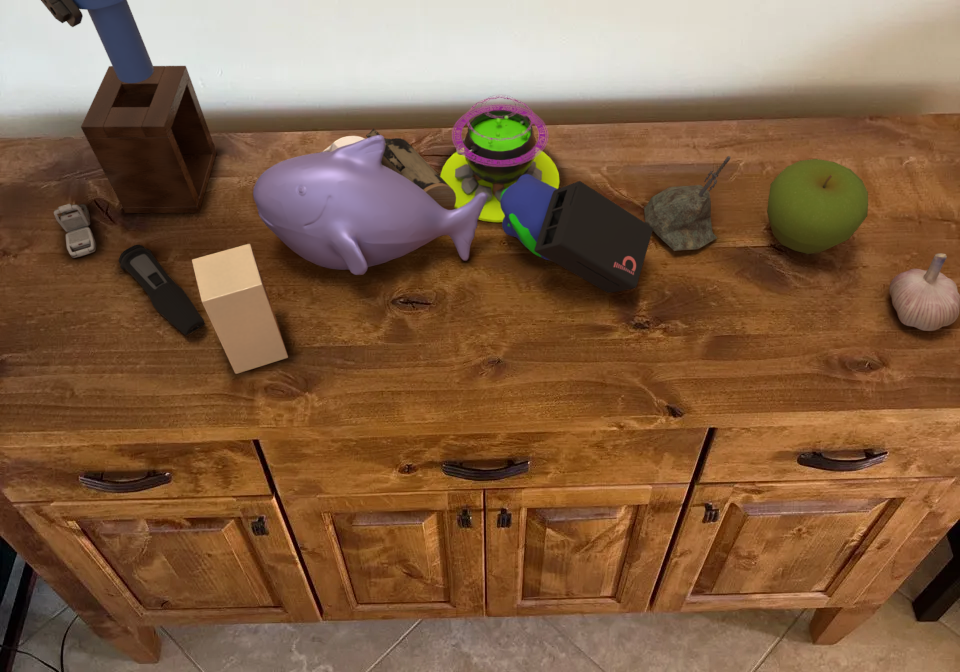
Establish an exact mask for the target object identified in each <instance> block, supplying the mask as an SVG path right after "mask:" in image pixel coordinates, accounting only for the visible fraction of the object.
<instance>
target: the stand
mask: <svg viewBox="0 0 960 672" xmlns="http://www.w3.org/2000/svg"><path fill="white" fill-rule="evenodd" d="M153 67H154V72H153V74H152V75H151V76H150V77H149V78H148V79H146V80H144V81H141V82H138V83H125V82H122V81H120V80H119V79H118V77H117V75H116V73H115V71H114V68H113V66H112V65H108V67H107V69H106V72H105V74H104V75H103V78H102V80H101V82H100V85H99V87H98V88H97V91H96V93H95V95H94V98H93V99H92V102H91V104H90V106H89V108H88V110H87V113H86V114H85V117H84V119H83V121H82V124H81V125H80V128H81V130H82V132H83V135H84V136H85V138H86V140H87V142H88V144H89V146H90V148H91V150H92V151H93V154H94V156H95V157H96V160H97V161H98V163H99V165H100V168H101V170H102V171H103V173H104V175H105V177H106V179H107V181H108V183H109V184H110V186H111V189H112V190H113V192H114V194H115V196H116V198H117V200H118V203H119V204H120V206H121V208H122V210H123V212H124V213H125V214H198V213H200V210H201V207H202V205H203V201H204V197H205V194H206V190H207V187H208V185H209V184H208V183H209V181H210V177H211V174H212V170H213V166H214V163H215V161H216V160H215V159H216V157H217V149H216V147H215V144H214V141H213V138H212V135H211V132H210V129H209V127H208V123H207V121H206V119H205V115H204V112H203V110H202V107H201V104H200V102H199V98H198V95H197V93H196V90H195V87H194V84H193V82H192V78H191V76H190V73H189V71H188V68H187V65H153Z"/></svg>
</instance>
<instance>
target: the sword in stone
mask: <svg viewBox="0 0 960 672" xmlns="http://www.w3.org/2000/svg"><path fill="white" fill-rule="evenodd" d="M731 158H732V157H731V156H730V155H728V156H727V157H726V158H725V159H724V160H723V162H722V163H721V165H720V166H719V167H718V168H717V170H716V171H714V170H711V171H709V173H708V174H707V176H706V177H705V179H704V183H705V185H704V186H703V185H701V184H695V185H678V186H669V187H667V188H665V189H663V190H661V191H660V192H658V193H656V194H655V195H653V196H651V198H650V199H649V201H648V203H646V205H645V206H643V211H644V213H643V214H644V222H645V223H647V224H648V225H650V226H651V227H653V231H652V232H653V233H655V234H656V236H658V238H660V239H661V240H662V242H664V243H665V244H666V245H667V246H668V247H669V248H670V249H672V250H673V251H674V252H675V251H676V252H677V251H689V250H699V249H701V248H702V247H704V246H706V245H708V244H709V243H711V242H713V241H715V240H716V239H718V237H717V235H716V234H715V233H714V232H713V225H712V217H711V216H712V215H711V213H712V201H711V193H710V192H711V191H712V190H713V189H714V188H715V186H716V185H717V183H718V179H716V178H719V174H720V173H721V172H722V170H723V169H724V167H726V165H727V164H728V163H729V161H730V160H731ZM710 176H711V178H710ZM712 183H713V184H712ZM708 189H709V190H708Z"/></svg>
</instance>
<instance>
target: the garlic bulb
mask: <svg viewBox="0 0 960 672" xmlns="http://www.w3.org/2000/svg"><path fill="white" fill-rule="evenodd" d="M947 257H948V256H947V254H946V253H935V254H934V257H933V258H932V260H931V262H930V263H929V266H928V268H927V270H925V269H920V268H911V269H908V270H906V271H903V272H900V273H898V274H896V275H895V276H894V277H893V278H892V279H891V282H890V283H889V287H888V293H889V295H890V298H891V304H892V306H893V308H894V310H895V311H896V315H897V317H898V319H899V322H901V324H903V325H904V326H907V327H912V328H913V327H914V328H916V329H918V330H920V331H923V332H924V331H927V332H934V331H937V330H939V329H941V328H942V327H948V326H951V325H952V324H953V323H955V322H956V321H957V319H958V318H959V316H960V293H959V290H958V285H957V283H956V282H955V281H954V280H953V279H951V277H947V276H946V275H945V274H944V273H942V272H941V271H942V268H943V265H944V264H945V262H946V260H947Z"/></svg>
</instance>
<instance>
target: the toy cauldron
mask: <svg viewBox="0 0 960 672" xmlns="http://www.w3.org/2000/svg"><path fill="white" fill-rule="evenodd" d="M497 99H503V100H511V101H512V102H513V103H514V105H513V104H502V103H498V104H487V105H486V103H487V102H489V101H490V100H497ZM484 102H485V103H484ZM478 104H481V107H480V106H478V107H477V105H478ZM520 104H521V105H522V106H524V107H522V106H518V105H520ZM470 120H471V121H470ZM530 121H531V122H530ZM533 125H534V126H535V128H536V129H537V131H538V139H537V140H536V137H535V134H534V129H533ZM464 126H467V132H466V134H465V137H464V138H462V133H463V130H464V129H463V128H465V127H464ZM451 133H452V137H451V140H452V143H453V145H454V147H455V149H456V151H455V152H453V154H452V155H451V156H450V157H449V158H448V159H447V160H446V161H445V163H444V165H443V166H442V169H441V172H440V175H439V176H440V177H441V178H442V179H443V180H444V181H445V182H446V183H447V184H448V185H449V186H450V187H451V188H452V189H453V191H454V192H455V195H456V203H455V206H454V208H453V209H457V208H460V207H462V206H464V205H466V204H467V203H469V202H470V201H471V200H472V199H473V198H474V197H475V196H476V195H478V194H479V193H482V192H484V193H486V194H487V196H488V197H487V200H486V203H485V205H484V207H483V209H482V211H481V214H480V216H479V218H478V221H483V222H489V223H502V222H503V219H504V217H505V215H504V213H503V211H502V209H501V205H500V203H501V200H500V197H501V193H502V191H504V190H505V189H506V188H508V187H509V186H511V185H512V184H514V183H516V182H517V180H518V179H519V178H520V177H521V176H522V175H525V174H529V175H531V176H533V177H535V178H536V179H538V180H540V181H542V182H544V183H547V184H549V185H550V186H552V187H554V188H556V189H559V188H560V183H561V181H560V173H559V171H558V168H557V166H556V164H555V162H554V160H552V158H551V157H550V156H548V155H547V154H546V153H545V152H544V151H543V150H544V149H546V146H547V144H548V141H549V139H548V138H549V130H548V127H547V125H546V123H545V122H544V121H543V120H542V119H541V118H540V117H539V116H538V114H537V113H535V112H534V111H533V110H532V109H531V108H530V107H528V105H527V104H526V103H524V102H522V101H521V100H519V99H516V98H514V97H509V95H506V94H505V96H504V95H501V94H498V95H496V94H495V95H493V96H489V97H487V98H485V99H482V100H479V101H478V102H476V103H475V104H474V105H472V106H471V107H470V109H469V110H468V111H467V112H466V113H464V114H463V115H462V116H461V117H460V118H459V119H458V120H457V121H455V124H454V125H453V127H452V130H451Z"/></svg>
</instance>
